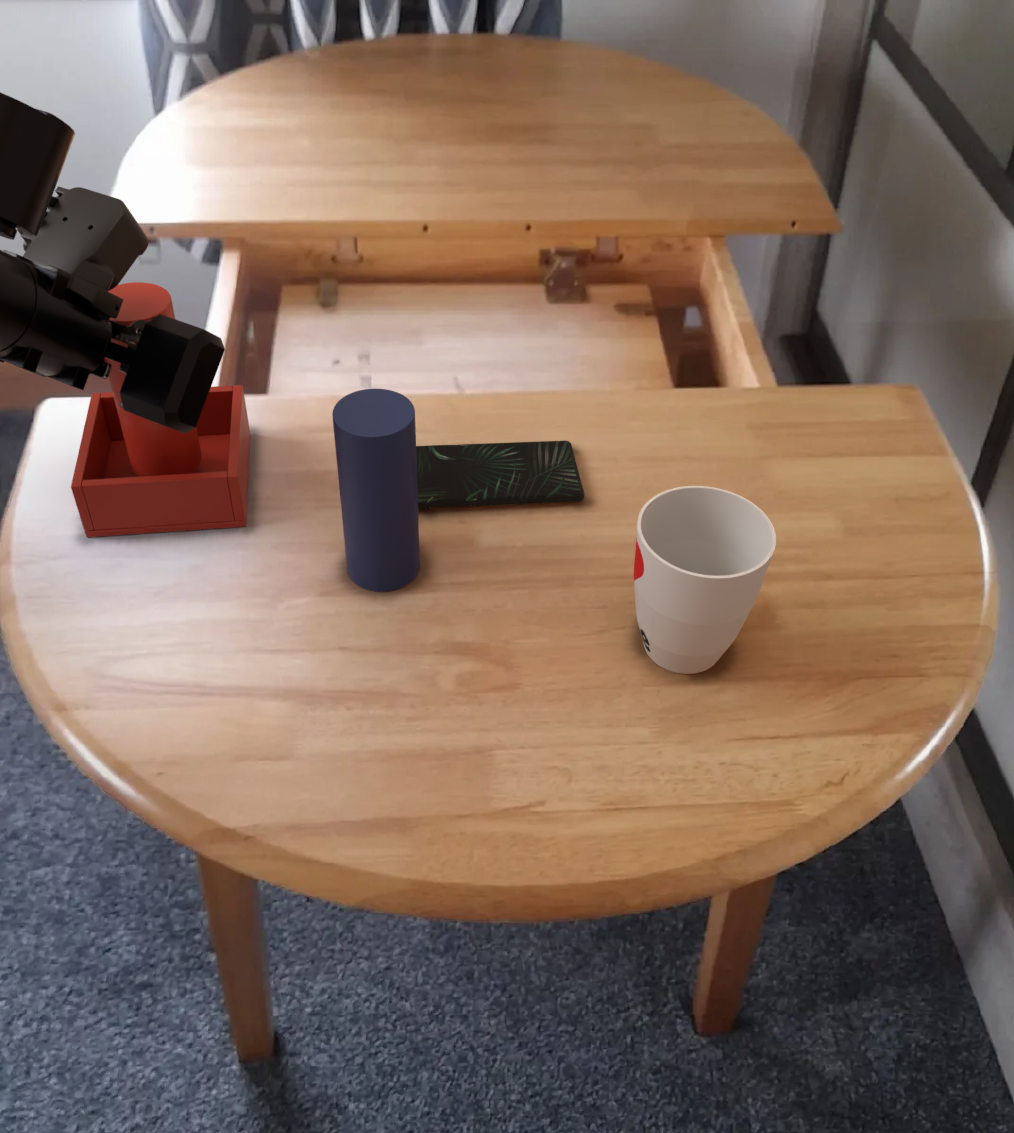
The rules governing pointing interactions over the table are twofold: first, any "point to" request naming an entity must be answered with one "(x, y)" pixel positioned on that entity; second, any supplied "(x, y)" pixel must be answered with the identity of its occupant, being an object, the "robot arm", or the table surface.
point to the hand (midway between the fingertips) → (163, 375)
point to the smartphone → (497, 474)
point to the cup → (697, 573)
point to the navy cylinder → (378, 487)
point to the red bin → (164, 501)
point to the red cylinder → (144, 439)
